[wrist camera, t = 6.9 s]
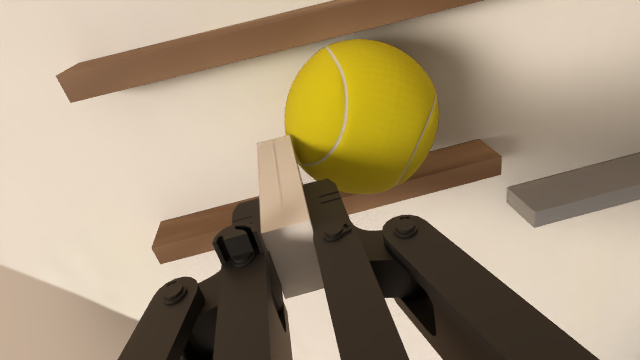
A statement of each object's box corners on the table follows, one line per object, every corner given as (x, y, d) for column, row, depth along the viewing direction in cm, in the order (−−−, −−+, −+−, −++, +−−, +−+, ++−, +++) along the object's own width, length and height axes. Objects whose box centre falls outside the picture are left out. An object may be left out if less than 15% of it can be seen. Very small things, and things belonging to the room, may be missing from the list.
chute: (479, 156, 25) (500, 174, 22) (168, 237, 24) (160, 264, 22) (479, -36, 19) (508, -36, 17) (78, 63, 19) (55, 75, 16)
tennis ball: (426, 53, 21) (498, 89, 15) (376, 166, 24) (419, 235, 18) (303, 9, 19) (327, 29, 13) (265, 138, 22) (270, 204, 16)
